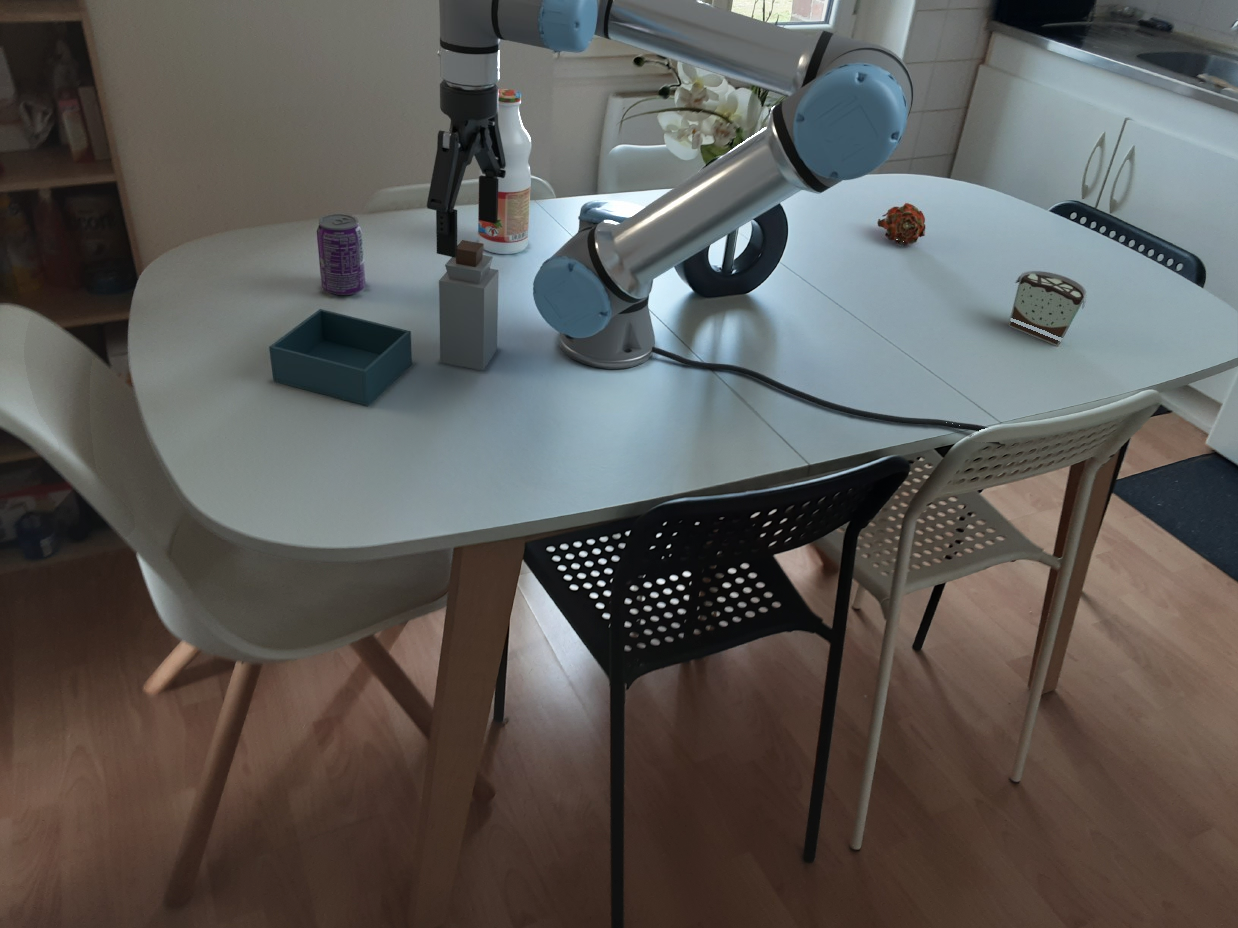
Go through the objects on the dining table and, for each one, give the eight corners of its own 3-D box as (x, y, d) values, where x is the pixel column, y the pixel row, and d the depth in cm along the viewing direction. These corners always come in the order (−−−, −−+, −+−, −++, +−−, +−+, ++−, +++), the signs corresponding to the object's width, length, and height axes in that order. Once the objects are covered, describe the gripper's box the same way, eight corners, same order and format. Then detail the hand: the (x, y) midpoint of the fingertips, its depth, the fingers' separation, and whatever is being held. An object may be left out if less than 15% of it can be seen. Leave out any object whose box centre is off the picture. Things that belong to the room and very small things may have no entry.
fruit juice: (530, 256, 180) (536, 102, 164) (478, 255, 179) (480, 99, 162) (526, 235, 188) (532, 86, 171) (476, 234, 186) (478, 83, 170)
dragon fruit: (907, 261, 199) (881, 245, 210) (942, 237, 199) (914, 222, 209) (891, 227, 195) (865, 213, 205) (927, 202, 194) (899, 189, 205)
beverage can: (350, 276, 167) (346, 209, 160) (373, 291, 163) (370, 223, 156) (313, 286, 162) (307, 217, 155) (336, 302, 158) (330, 233, 152)
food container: (1079, 339, 173) (1100, 288, 167) (1065, 349, 169) (1087, 298, 164) (1014, 313, 180) (1033, 263, 174) (1000, 323, 176) (1018, 272, 170)
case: (412, 364, 145) (410, 331, 142) (367, 406, 135) (365, 371, 131) (323, 341, 148) (319, 308, 145) (273, 381, 138) (268, 346, 134)
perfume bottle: (483, 370, 145) (484, 259, 135) (440, 362, 146) (438, 251, 136) (496, 350, 151) (499, 241, 140) (455, 342, 152) (454, 233, 141)
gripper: (482, 57, 135) (480, 203, 148) (396, 99, 116) (402, 264, 128) (532, 66, 134) (526, 213, 146) (453, 111, 114) (453, 276, 127)
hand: (468, 237), depth 137 cm, fingers open, 13 cm apart
